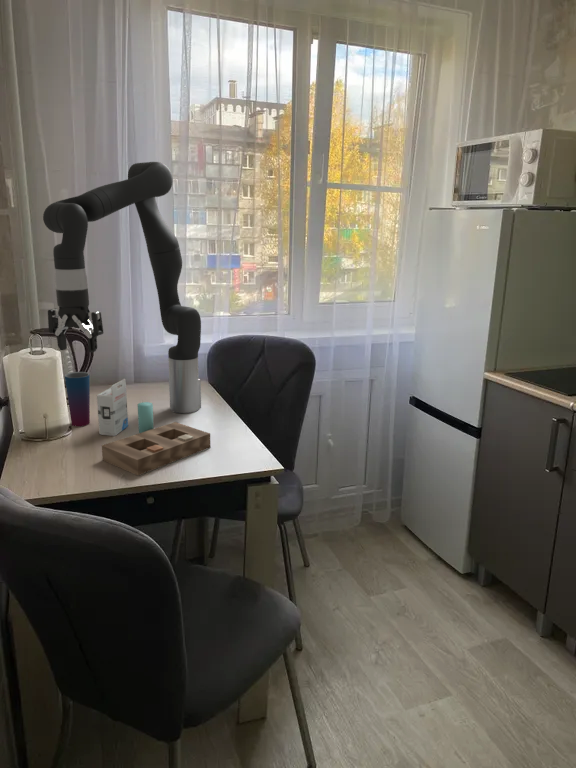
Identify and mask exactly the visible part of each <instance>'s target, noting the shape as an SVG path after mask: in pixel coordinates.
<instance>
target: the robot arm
mask: <svg viewBox="0 0 576 768" xmlns="http://www.w3.org/2000/svg"><path fill="white" fill-rule="evenodd" d="M173 179H174V178H173V174H172V172H171V170H170V168H169V167H168V166H167V165H166V164H165V163H163V162H159V161H147V162H136V163H135V162H134V163H133V164H132V165H131V166H129V169H128V171H127V179H124V180H119V181H117V182H116V181H115V182H112V183H107V184H105V185H102V186H98V187H95V188H93V189H91V190H87V191H86V192H84V193H82V194H80V195H77V196H73V197H69V198H65V199H61V200H58V201H55V202H52V203H50V204H49V205H48V206H47V207H46V208H45V209H44V212H43V214H42V219H43V220H42V221H43V223H44V225H45V227H46V228H47V229H48V230H49V231H51V232H53V233H57V234H62V239H61V242H60V243H57V244H55V246H54V247H53V263H54V284H55V285H54V286H55V293H56V295H55V296H56V304H57V306H58V308H52V309H48V310H47V324H48V325H47V326H48V332H49V334H54V335H55V336H56V340H57V341H56V343H57V347H58V348H59V351H66V350H67V349H68V345H67V344H68V342H67V335H66V332H67V330H68V329H71V328H75V329H80V330H81V331H82V332H84V333H85V335H86V336H87V347H88V353H95V352H97V350H98V341H97V340H98V339H97V338H98V337H99V336H102V335H103V334H104V324H103V317H102V311H100V310H98V311H90V309H89V305H90V296H89V287H88V286H89V285H88V276H87V271H86V262H85V261H86V260H85V255H84V252H85V247H86V242H87V234H88V227H89V223H91V222H96V221H99V220H102V219H103V218H105V217H107V216H109V215H112V214H114V213H115V212H118V211H120V210H122V209H125V208H126V207H129V206H131V205H135V209H136V211H137V214H138V217H139V221H140V224H141V228H142V232H143V236H144V239H145V244H146V249H147V254H148V257H149V258H148V259H149V261H150V265H151V268H152V273H153V277H154V283H155V286H156V287H155V288H156V291H157V298H158V303H159V311H160V318H161V324H162V327H163V329H164V330H165V332H167V333H168V334H170V335H175V336H177V343H176V345H174V346H171V347H169V349H168V354H167V355H168V359H167V360H168V380H169V381H168V384H169V385H168V386H169V389H168V390H169V410H170V411H171V412H172V413H178V414H188V413H189V414H190V413H194V412H197V411H198V410H199V409H200V408H202V386H201V385H202V380H201V379H200V378H199V351H200V348H201V340H202V338H201V337H202V334H201V333H202V320H201V315H200V313H199V311H198V310H197V309H195V308H194V307H189V306H185V305H182V304H181V301H180V297H179V293H178V292H179V291H178V285H179V280H180V276H181V273H182V269H183V260H182V259H183V258H182V254H181V249H180V244H179V241H178V239H177V236H176V235H175V233H174V232H173V231H172V229H171V227H170V226H169V225H168V224H167V221H165V219H164V218H163V216H162V215H161V213H160V210H159V207H158V203H157V201H156V198H158V197H160V198H161V197H162V196H165V195H167V194H168V193H169V192H170V191H171V189H172V186H173V182H174V181H173ZM59 318H60V319H61V320H60V322H59ZM90 320H91V321H90Z"/></svg>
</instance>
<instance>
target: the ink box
mask: <svg viewBox="0 0 576 768" xmlns="http://www.w3.org/2000/svg"><path fill="white" fill-rule="evenodd" d="M119 386H120V387H119ZM127 396H128V395H127V380H126V379H125V378H123V379H121V380H119V381H118V382H116V383H114V384H112V385H111V387H109V388H107V389H106V390H104V391H102V392H101V393H98V394H96V405H97V417H98V430H99V431H98V433H99V435H103V436H111V437H115V436H117V435H118V434H119V433H121V432H122V431H124V430H125V429H126V428H128V427H129V418H128V416H129V415H128V413H129V412H128V397H127Z"/></svg>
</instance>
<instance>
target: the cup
mask: <svg viewBox="0 0 576 768" xmlns="http://www.w3.org/2000/svg"><path fill="white" fill-rule="evenodd" d="M90 377H91V376H90V373H89V372H85V371H74V372H68V373H65V374H64V379H65V380H64V381H65V388H66V394H67V402H68V408H69V414H70V415H69V416H70V423H71V425H72V426H73V427H77V428H78V427H86V426H88V425H90V422H91V421H90V413H91V412H90V405H91V402H90V399H91V398H90V397H91V396H90V382H91V381H90Z"/></svg>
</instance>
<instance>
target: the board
mask: <svg viewBox="0 0 576 768" xmlns="http://www.w3.org/2000/svg"><path fill="white" fill-rule="evenodd" d="M210 448H211V433H210V432H207V431H204V430H200V429H197V428H196V427H191V426H189V425H185V424H183V423H179V422H177V421H174V422H171V423H168V424H164V425H162V426H158V427H155V428H154V429H151V430H148V431H145V432H142V433H139V432H138V433H136V434H134V435H130V436H126V437H124V438H120V439H117V440H114V441H112V442H108V443H105V444H104V443H103V444H102V445H101V455H102V457H101V458H102V461H103V462H106V463H108V464H111V465H112V466H115V467H118V468H119V469H121V470H125V471H126V472H129V473H132V474H134V475H136V476H141V475H143V474H147V473H148V472H151V471H154V470H156V469H158V468H159V469H160V468H162V467H164V466H166V465H169V464H171V463H172V464H173V463H174V462H177V461H179V460H181V459H184V458H187V457H190V456H191V455H195V454H197V453H200V452H203V451H205V450H208V449H210Z"/></svg>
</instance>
